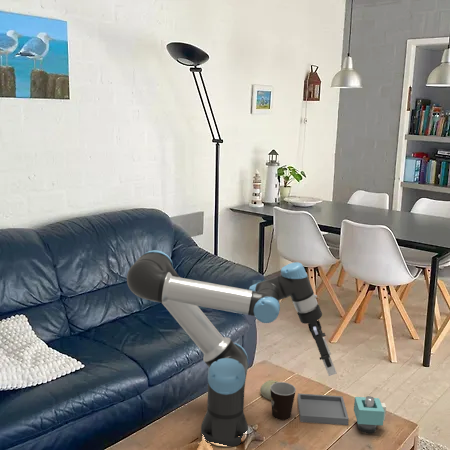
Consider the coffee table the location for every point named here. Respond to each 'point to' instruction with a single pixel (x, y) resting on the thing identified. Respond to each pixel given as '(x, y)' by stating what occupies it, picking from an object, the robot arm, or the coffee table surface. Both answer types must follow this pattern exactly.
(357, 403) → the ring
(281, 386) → the coffee mug
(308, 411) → the tray
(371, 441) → the coffee table surface
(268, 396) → the sea urchin shell
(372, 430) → the cylinder
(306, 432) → the coffee table surface
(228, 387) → the robot arm
